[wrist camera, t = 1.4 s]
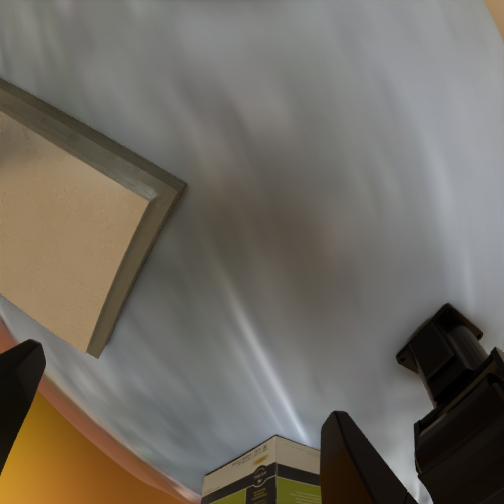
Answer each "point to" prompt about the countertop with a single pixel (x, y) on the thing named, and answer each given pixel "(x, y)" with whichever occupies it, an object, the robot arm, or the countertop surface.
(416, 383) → the countertop surface
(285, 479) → the tea box
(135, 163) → the arbor press
